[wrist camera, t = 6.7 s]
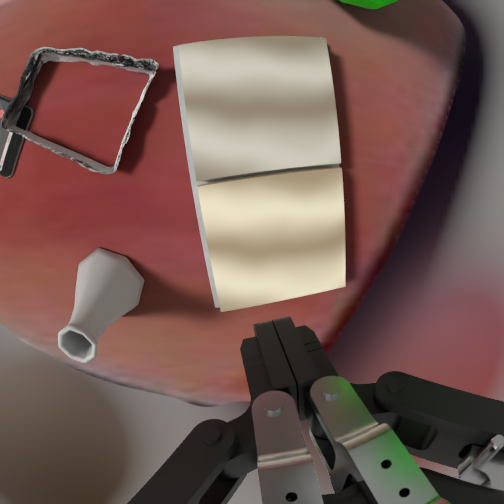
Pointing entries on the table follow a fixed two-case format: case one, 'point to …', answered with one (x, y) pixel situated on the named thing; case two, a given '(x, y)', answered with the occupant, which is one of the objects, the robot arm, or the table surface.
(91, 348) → the flask
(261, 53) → the laid plank
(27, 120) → the smartphone
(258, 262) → the cream wavy square sheet
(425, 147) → the table surface
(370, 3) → the plastic bottle
